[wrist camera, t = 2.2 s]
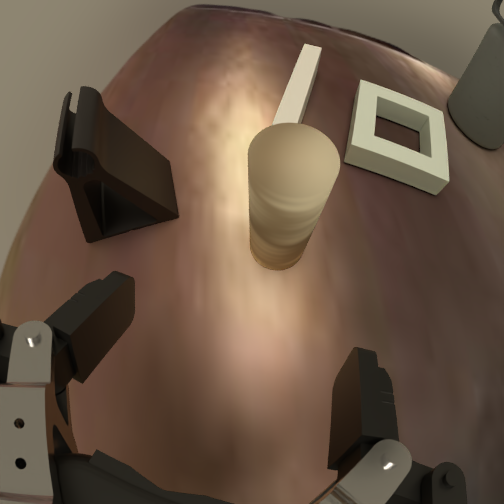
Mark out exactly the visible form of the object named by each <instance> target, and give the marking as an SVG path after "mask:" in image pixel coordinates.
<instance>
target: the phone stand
mask: <svg viewBox="0 0 504 504" xmlns="http://www.w3.org/2000/svg"><path fill="white" fill-rule="evenodd" d="M71 96H72V93H71V92H68V93H67V95H66V96H65V98H64V101H63V106H62V111H61V116H60V121H59V127H58V133H57V139H56V146H55V152H54V160H53V168H54V170H55V171H56V173H57V174H59V175H60V176H61V177H63V178H64V179H65V181H66V182H67V183H68V185H69V188H70V191H71V195H72V198H73V202H74V205H75V208H76V212H77V215H78V218H79V221H80V224H81V227H82V231H83V234H84V236H85V239H86V242H88V243H92V242H95V241H98V240H102V239H105V238H108V237H112V236H115V235H119V234H122V233H126V232H129V231H130V230H136V229H140V228H143V227H147V226H150V225H154V224H158V223H161V222H165V221H169V220H172V219H176V218H178V217H179V215H178V210H177V204H176V198H175V192H174V186H173V180H172V174H171V167H170V161H169V160H167V159H166V158H165V157H164V156H163V155H161V154H160V153H159V152H158V151H157V150H155V149H154V148H153V147H152V146H151V145H149V144H148V143H147V142H146V141H144V140H143V139H142V138H141V137H140V136H138V135H137V134H136V133H135V132H134V131H132V130H131V129H130V128H129V127H127V126H126V125H125V124H124V123H123V122H121V121H120V120H119V119H118V118H116V117H115V116H114V115H113V114H111V113H110V112H109V111H108V110H107V109H106V107H105V106H104V104H103V101H102V97H101V95H100V93H99V92H98V91H97V90H95V89H94V88H91V87H86V86H83V87H81V88H80V94H79V100H78V106H77V113H76V114H75V113H73V112H71V111H70V110H69V106H70V101H71Z"/></svg>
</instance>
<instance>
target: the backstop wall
mask: <svg viewBox="0 0 504 504" xmlns="http://www.w3.org/2000/svg"><path fill="white" fill-rule="evenodd" d="M321 49H322V48H320V47H316V46H312V45H308V44H304V46H303V49H302V51H301V54H300V56H299V58H298V61H297V63H296V66H295V68H294V71H293V73H292V76H291V78H290V81H289V83H288V86H287V88H286V91H285V93H284V96H283V98H282V101H281V103H280V106H279V108H278V111H277V113H276V116H275V118H274V121H273V123H272V125H275V124H279V123H300V124H301V122H302V119H303V116H304V113H305V110H306V106H307V103H308V100H309V97H310V94H311V90H312V87H313V84H314V81H315V77H316V74H317V70H318V65H319V60H320V54H321Z"/></svg>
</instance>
